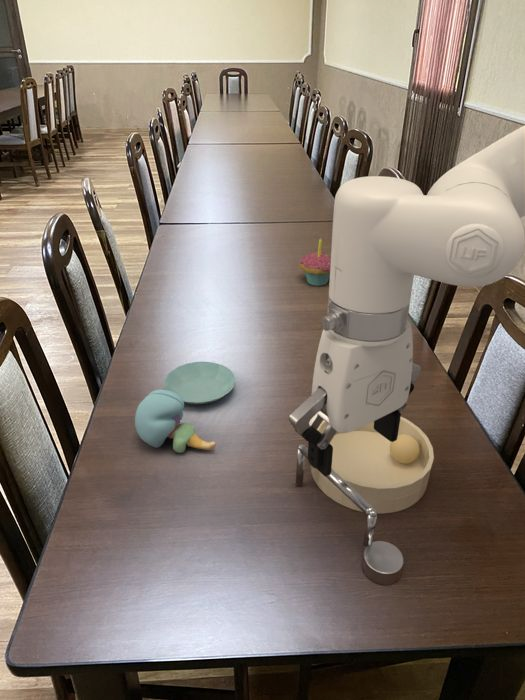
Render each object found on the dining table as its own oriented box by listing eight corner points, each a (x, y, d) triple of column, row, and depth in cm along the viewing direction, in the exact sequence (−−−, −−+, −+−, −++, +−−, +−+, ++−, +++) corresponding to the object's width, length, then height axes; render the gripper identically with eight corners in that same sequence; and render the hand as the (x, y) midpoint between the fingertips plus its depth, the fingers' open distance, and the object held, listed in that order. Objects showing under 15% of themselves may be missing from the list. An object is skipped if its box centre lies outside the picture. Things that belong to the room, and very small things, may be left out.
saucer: (191, 422, 83) (190, 411, 82) (151, 389, 91) (150, 377, 90) (249, 394, 90) (249, 382, 89) (207, 364, 97) (207, 354, 96)
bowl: (453, 481, 73) (459, 456, 71) (365, 533, 65) (369, 507, 63) (370, 418, 85) (373, 395, 82) (287, 456, 77) (288, 432, 75)
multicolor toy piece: (206, 424, 70) (124, 400, 73) (204, 473, 75) (127, 449, 78) (226, 394, 76) (150, 372, 79) (223, 441, 81) (151, 419, 83)
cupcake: (336, 289, 126) (341, 240, 120) (300, 289, 126) (303, 239, 120) (332, 274, 133) (336, 227, 127) (297, 274, 133) (300, 227, 127)
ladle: (409, 572, 61) (419, 529, 57) (381, 592, 59) (390, 548, 55) (309, 476, 74) (312, 435, 70) (283, 489, 72) (285, 448, 68)
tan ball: (424, 436, 73) (426, 460, 75) (403, 425, 76) (406, 448, 78) (402, 449, 72) (405, 473, 73) (382, 437, 75) (385, 460, 76)
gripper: (321, 358, 44) (313, 505, 53) (459, 305, 52) (432, 440, 61) (269, 323, 50) (270, 461, 58) (402, 280, 58) (385, 407, 67)
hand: (353, 450), depth 60 cm, fingers open, 9 cm apart
